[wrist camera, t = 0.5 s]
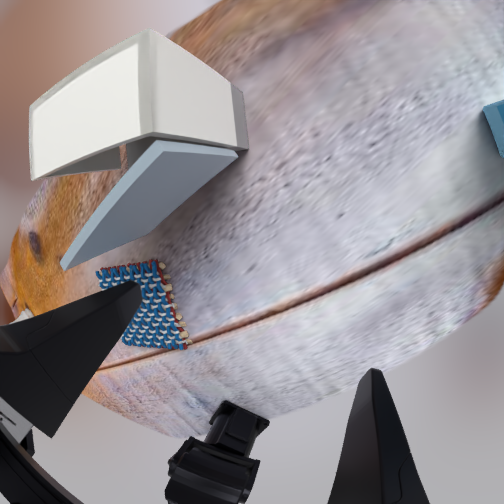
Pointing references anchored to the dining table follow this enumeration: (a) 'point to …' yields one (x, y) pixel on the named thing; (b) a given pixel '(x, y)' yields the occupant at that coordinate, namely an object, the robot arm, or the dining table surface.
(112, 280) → the woven mat
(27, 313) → the rook chess piece
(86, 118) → the box
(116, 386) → the dining table surface
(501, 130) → the blue carton
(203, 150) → the box door
